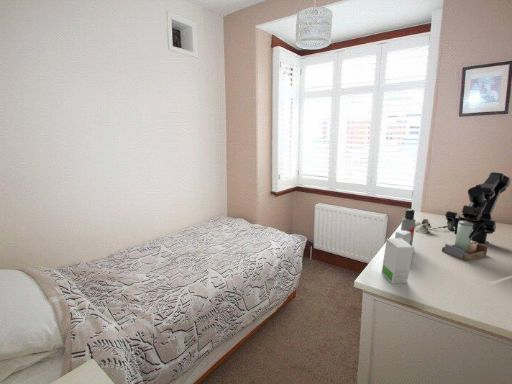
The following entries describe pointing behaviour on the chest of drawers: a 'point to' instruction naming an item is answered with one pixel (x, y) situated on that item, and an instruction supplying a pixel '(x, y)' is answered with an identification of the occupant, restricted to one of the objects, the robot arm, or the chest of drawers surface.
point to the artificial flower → (426, 226)
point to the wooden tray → (480, 252)
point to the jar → (472, 247)
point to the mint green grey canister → (463, 235)
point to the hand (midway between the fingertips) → (462, 236)
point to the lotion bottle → (409, 223)
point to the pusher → (454, 251)
